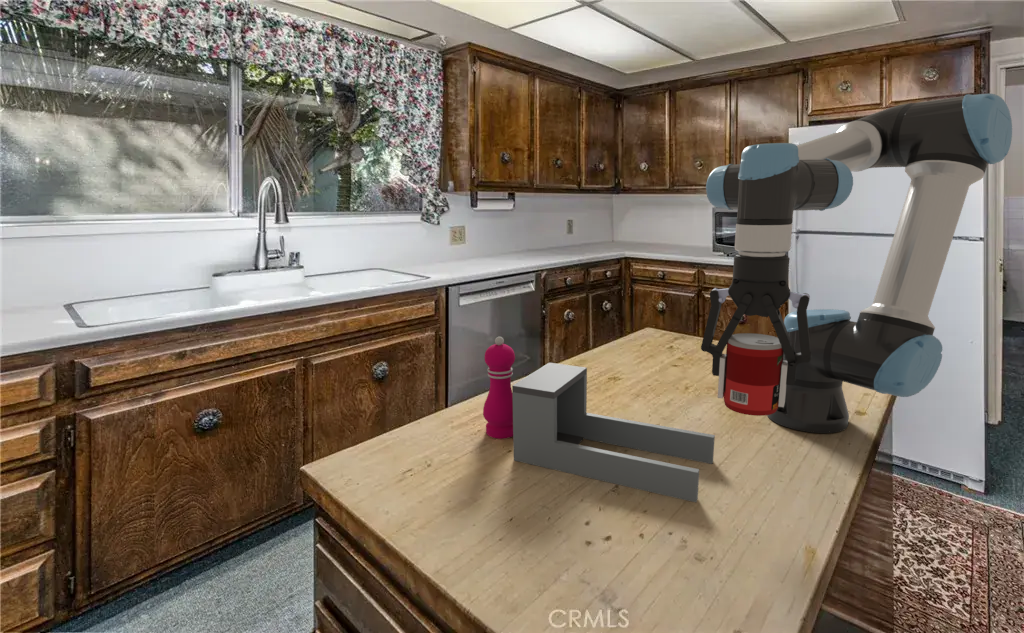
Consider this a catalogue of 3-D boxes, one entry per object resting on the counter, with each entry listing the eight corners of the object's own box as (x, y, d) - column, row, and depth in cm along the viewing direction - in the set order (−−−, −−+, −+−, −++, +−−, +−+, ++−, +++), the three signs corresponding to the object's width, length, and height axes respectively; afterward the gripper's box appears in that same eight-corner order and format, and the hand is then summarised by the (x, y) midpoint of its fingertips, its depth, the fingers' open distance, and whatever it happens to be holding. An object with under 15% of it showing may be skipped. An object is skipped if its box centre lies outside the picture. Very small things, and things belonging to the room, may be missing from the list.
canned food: (785, 417, 84) (791, 346, 82) (728, 415, 85) (733, 345, 83) (770, 399, 91) (775, 333, 89) (718, 397, 93) (722, 332, 90)
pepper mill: (493, 443, 110) (490, 343, 105) (477, 429, 116) (474, 335, 112) (525, 435, 113) (524, 338, 109) (509, 422, 119) (507, 330, 115)
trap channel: (713, 461, 101) (717, 385, 98) (696, 502, 87) (701, 416, 84) (549, 429, 116) (549, 362, 113) (513, 460, 102) (512, 385, 99)
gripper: (842, 253, 82) (827, 402, 86) (693, 249, 91) (687, 383, 96) (844, 258, 75) (827, 419, 80) (683, 253, 85) (677, 397, 90)
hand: (750, 399), depth 88 cm, fingers closed on canned food, 8 cm apart
